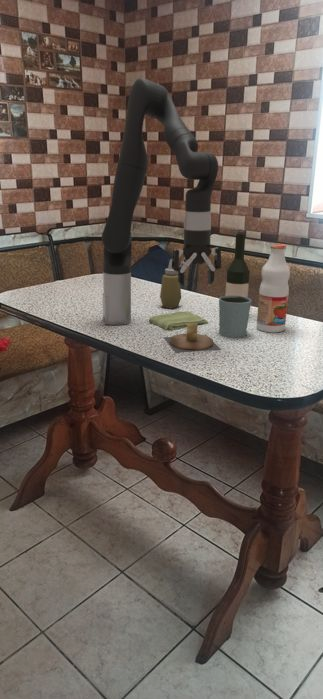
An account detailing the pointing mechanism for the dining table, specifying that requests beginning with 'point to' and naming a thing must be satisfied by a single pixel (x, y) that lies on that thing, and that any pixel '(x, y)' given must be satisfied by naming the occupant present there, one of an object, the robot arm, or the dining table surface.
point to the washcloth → (176, 320)
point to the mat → (190, 350)
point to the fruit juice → (274, 291)
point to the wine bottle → (238, 270)
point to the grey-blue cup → (233, 316)
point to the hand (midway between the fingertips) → (196, 284)
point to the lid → (191, 339)
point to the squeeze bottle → (170, 288)
